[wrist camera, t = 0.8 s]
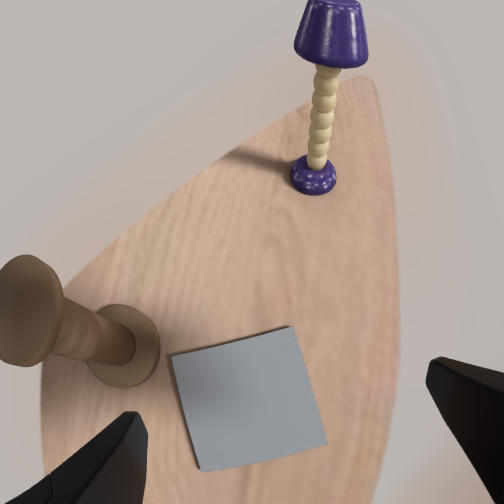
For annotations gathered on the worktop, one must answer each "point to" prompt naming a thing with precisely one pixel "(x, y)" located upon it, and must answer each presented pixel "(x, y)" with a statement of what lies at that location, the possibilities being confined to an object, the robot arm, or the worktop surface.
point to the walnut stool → (71, 327)
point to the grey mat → (248, 401)
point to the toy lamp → (326, 80)
